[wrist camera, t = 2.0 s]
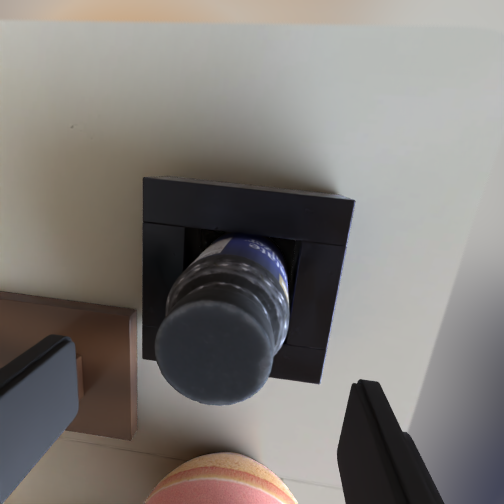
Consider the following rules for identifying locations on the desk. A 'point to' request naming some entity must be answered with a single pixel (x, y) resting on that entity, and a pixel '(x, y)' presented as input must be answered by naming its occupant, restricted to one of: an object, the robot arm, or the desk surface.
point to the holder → (254, 223)
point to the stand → (82, 355)
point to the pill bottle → (225, 320)
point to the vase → (221, 482)
